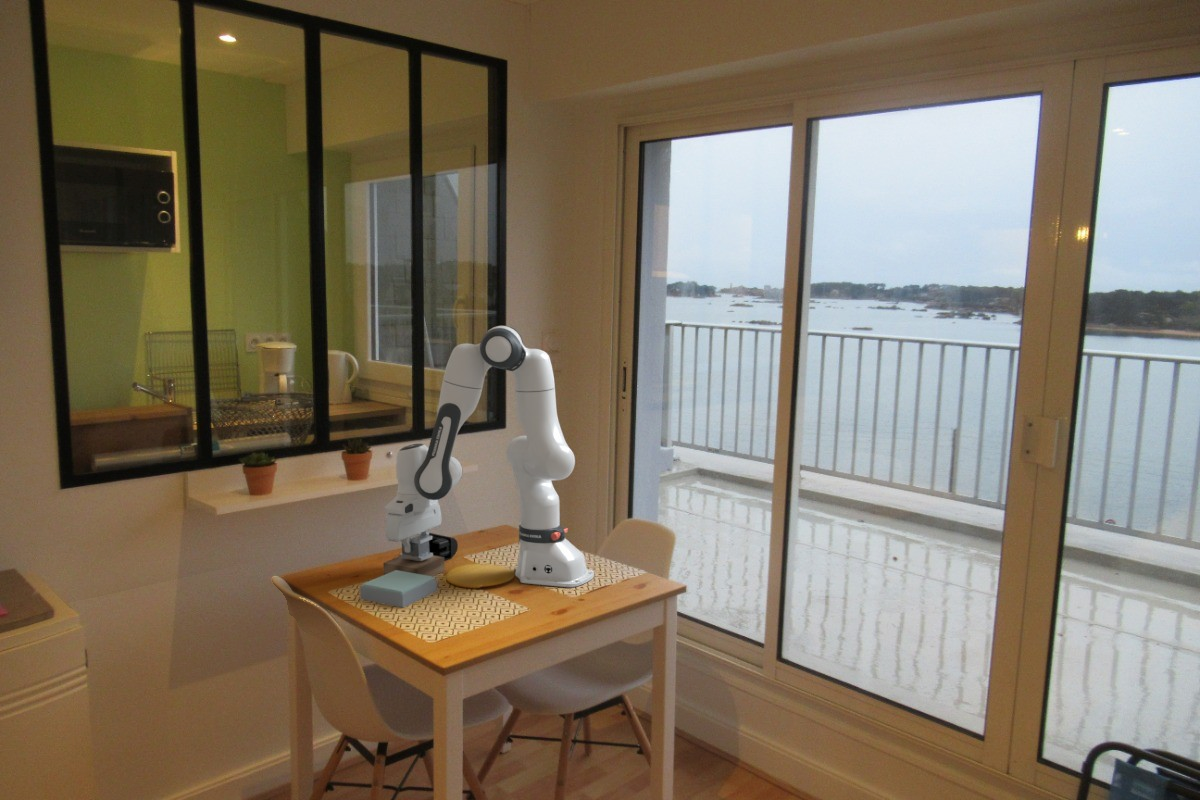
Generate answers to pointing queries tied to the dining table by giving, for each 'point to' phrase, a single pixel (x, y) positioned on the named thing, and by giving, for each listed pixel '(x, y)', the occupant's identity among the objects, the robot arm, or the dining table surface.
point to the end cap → (443, 546)
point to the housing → (418, 548)
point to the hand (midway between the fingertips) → (415, 549)
